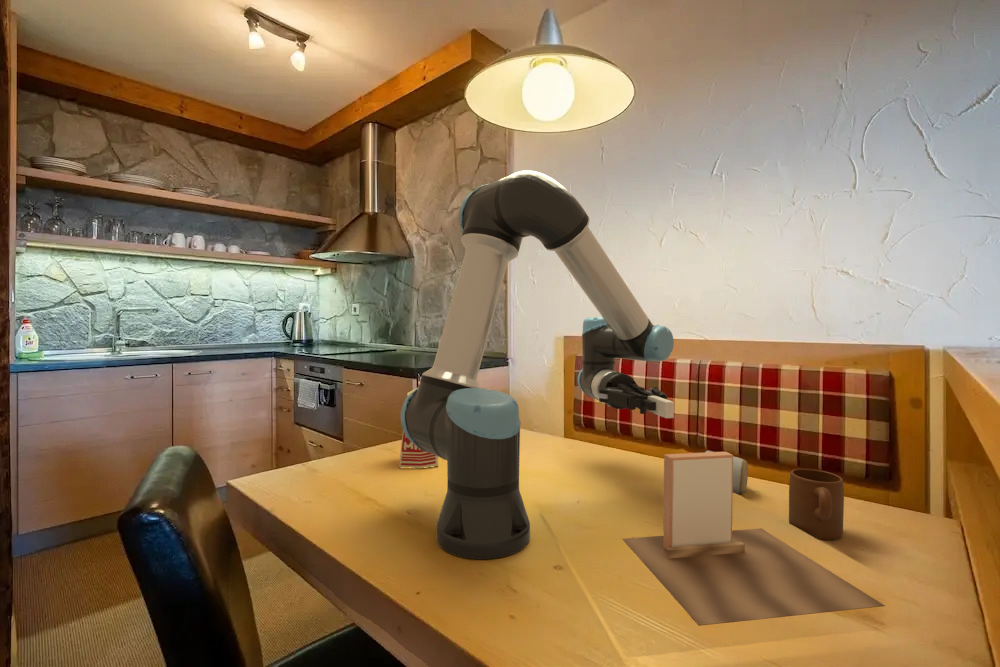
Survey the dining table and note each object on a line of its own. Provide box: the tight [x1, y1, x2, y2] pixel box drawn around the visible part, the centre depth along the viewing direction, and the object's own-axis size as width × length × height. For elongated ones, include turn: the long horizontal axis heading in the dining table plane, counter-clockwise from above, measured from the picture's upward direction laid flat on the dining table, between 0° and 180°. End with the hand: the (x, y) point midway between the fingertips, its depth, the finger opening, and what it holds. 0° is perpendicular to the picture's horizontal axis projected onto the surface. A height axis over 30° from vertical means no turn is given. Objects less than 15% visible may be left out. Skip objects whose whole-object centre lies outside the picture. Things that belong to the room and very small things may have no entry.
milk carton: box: [398, 380, 439, 468], centre depth 115 cm, size 9×9×20 cm
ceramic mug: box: [704, 450, 749, 495], centre depth 99 cm, size 11×8×8 cm
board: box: [622, 528, 886, 626], centre depth 65 cm, size 24×21×2 cm
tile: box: [662, 451, 734, 549], centre depth 70 cm, size 10×2×14 cm, turn 99°
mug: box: [788, 468, 845, 541], centre depth 77 cm, size 12×8×9 cm, turn 156°
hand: (669, 410), depth 79 cm, fingers closed
